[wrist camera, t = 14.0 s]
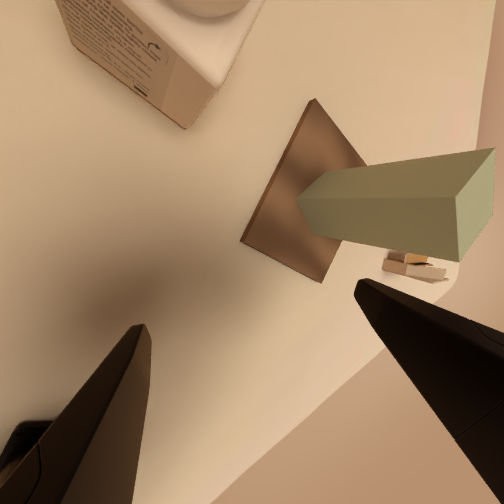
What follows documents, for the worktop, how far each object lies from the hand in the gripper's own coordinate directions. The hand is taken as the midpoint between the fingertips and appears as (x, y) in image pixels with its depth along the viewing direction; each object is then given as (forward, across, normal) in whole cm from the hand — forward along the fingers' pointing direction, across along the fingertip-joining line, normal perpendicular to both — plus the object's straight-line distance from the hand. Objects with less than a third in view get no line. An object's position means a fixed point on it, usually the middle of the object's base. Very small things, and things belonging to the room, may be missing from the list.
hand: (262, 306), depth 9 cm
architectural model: (+18, -29, +15) cm, 37 cm away
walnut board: (+16, -11, +2) cm, 19 cm away
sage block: (+15, -11, +2) cm, 19 cm away
